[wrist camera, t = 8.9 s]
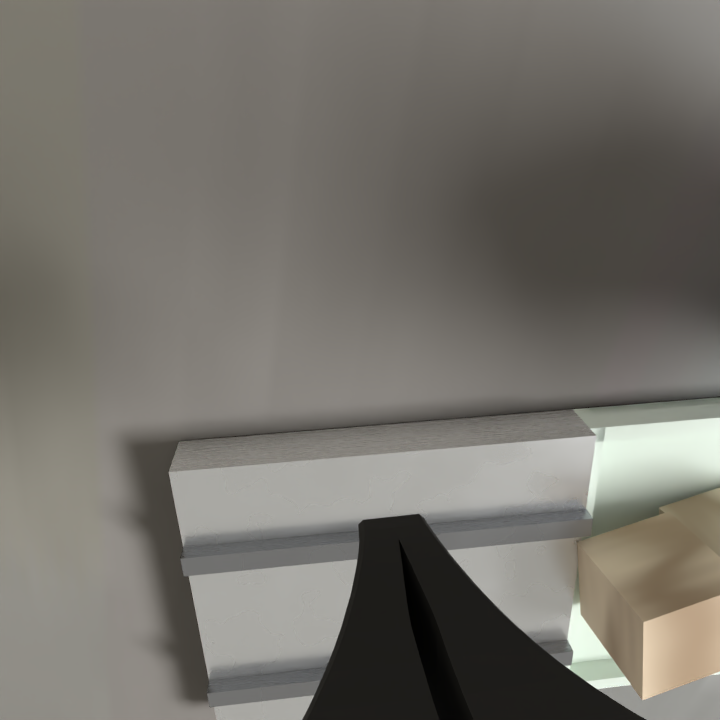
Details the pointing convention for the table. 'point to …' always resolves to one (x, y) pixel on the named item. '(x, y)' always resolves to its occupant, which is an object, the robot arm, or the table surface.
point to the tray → (641, 489)
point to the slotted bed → (341, 536)
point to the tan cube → (653, 602)
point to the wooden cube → (700, 516)
